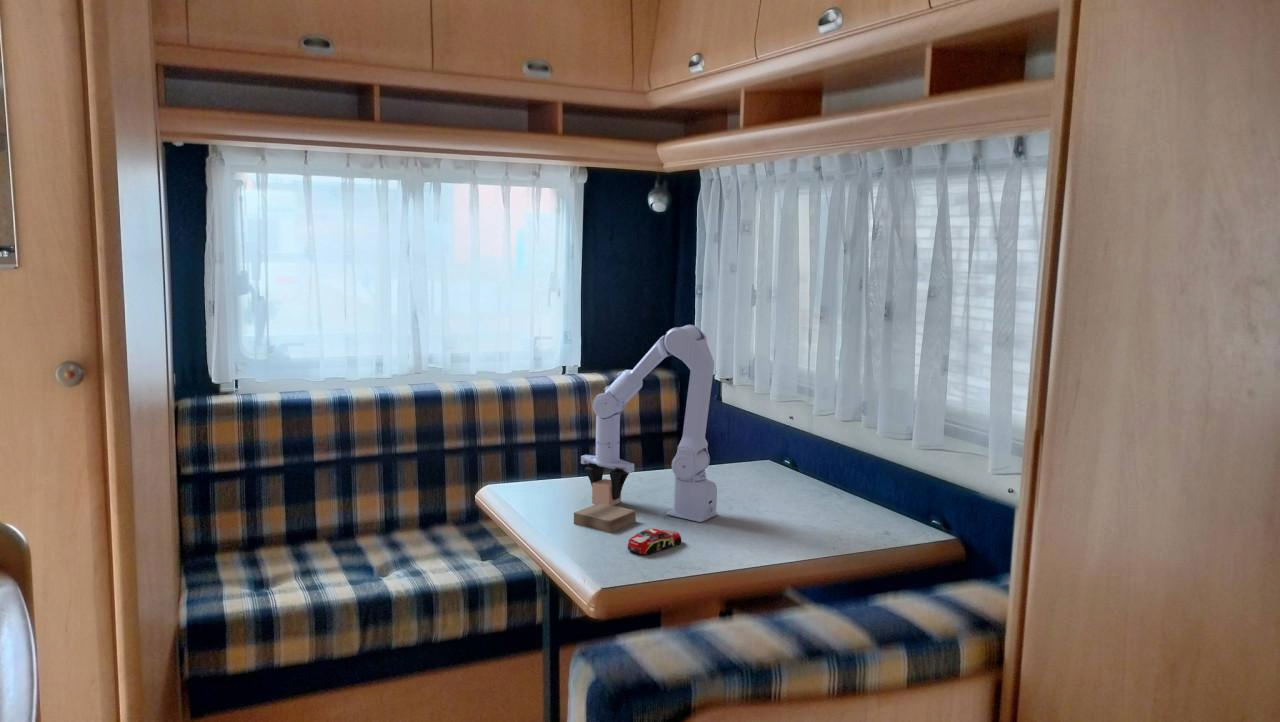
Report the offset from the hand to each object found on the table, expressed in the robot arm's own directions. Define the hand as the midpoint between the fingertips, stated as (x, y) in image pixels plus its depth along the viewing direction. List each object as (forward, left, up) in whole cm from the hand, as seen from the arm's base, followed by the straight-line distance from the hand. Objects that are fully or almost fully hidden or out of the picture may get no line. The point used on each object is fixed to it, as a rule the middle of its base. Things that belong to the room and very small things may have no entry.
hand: (606, 496), depth 224 cm
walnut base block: (-9, +13, -2) cm, 16 cm away
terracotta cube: (0, 0, -1) cm, 1 cm away
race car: (-27, +20, -2) cm, 34 cm away
